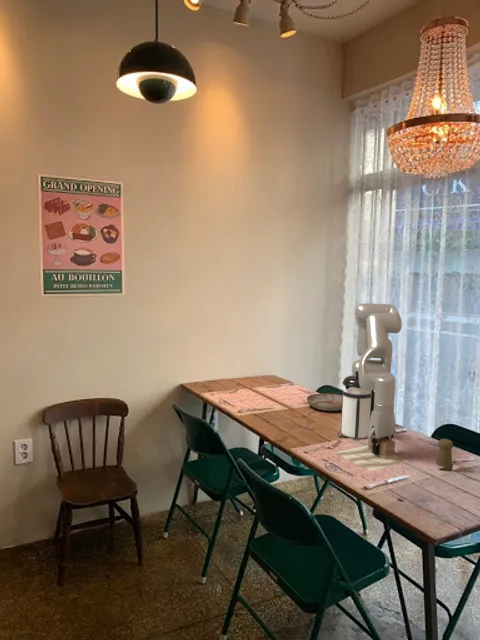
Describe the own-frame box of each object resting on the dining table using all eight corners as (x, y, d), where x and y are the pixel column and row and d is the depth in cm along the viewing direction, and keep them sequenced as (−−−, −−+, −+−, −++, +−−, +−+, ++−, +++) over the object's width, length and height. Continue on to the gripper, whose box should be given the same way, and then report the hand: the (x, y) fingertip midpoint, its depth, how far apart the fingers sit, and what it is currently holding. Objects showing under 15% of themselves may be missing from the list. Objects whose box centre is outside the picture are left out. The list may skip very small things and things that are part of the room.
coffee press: (375, 445, 210) (379, 375, 207) (337, 441, 214) (340, 373, 210) (373, 432, 227) (376, 367, 224) (337, 429, 230) (340, 365, 227)
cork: (438, 463, 193) (440, 436, 191) (454, 467, 189) (456, 439, 188) (433, 468, 188) (435, 440, 187) (449, 472, 184) (451, 444, 183)
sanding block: (367, 451, 199) (368, 436, 198) (377, 449, 202) (377, 434, 201) (384, 459, 191) (385, 444, 191) (394, 456, 194) (395, 441, 193)
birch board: (333, 456, 197) (333, 452, 197) (370, 448, 207) (370, 444, 207) (370, 475, 180) (370, 471, 180) (408, 465, 190) (409, 461, 190)
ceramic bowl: (297, 404, 271) (298, 395, 270) (333, 400, 281) (334, 391, 280) (322, 416, 250) (322, 406, 249) (359, 411, 260) (360, 402, 259)
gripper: (391, 402, 202) (389, 445, 204) (360, 408, 193) (358, 453, 195) (406, 407, 195) (403, 452, 198) (374, 413, 187) (372, 459, 189)
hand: (380, 452), depth 196 cm, fingers closed on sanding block, 5 cm apart
